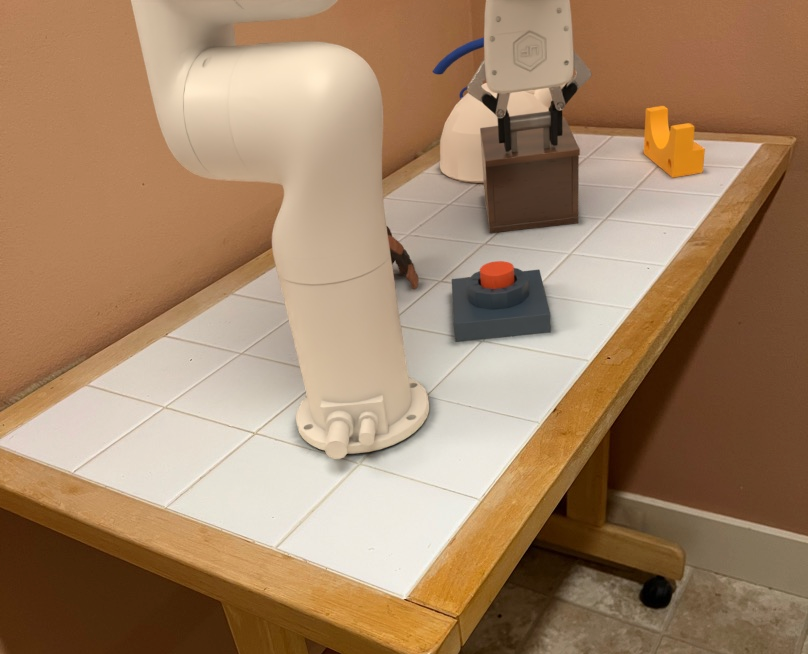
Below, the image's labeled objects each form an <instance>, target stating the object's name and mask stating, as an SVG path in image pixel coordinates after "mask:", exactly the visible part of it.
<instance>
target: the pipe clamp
mask: <svg viewBox="0 0 808 654" xmlns="http://www.w3.org/2000/svg"><path fill="white" fill-rule="evenodd" d="M644 122H645V123H644V139H643V155H645V156H646V157H647V158H648V159H649V160H650V161H652V162H653V163H654V164H655V165H656V166H657V167H659V168H660V169H661V170H663V171H664V172H665V174H667V175H668V176H670V178H672V179H673V178H680V177H684V176H690V175H696V174H703V173H704V164H705V163H704V162H705V153H706V148H705V147H703V146H702V145H700V144H699V143H698V142H697V141H694V140H695V128H696V127H695V125H693V124H692V123H690V122H686V123H680V124H675V125H670V126H669V108H667V107H666V106H664V105H659V106H653V107H646V108H645V121H644ZM669 127H670V128H669Z"/></svg>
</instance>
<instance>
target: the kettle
mask: <svg viewBox="0 0 808 654" xmlns="http://www.w3.org/2000/svg"><path fill="white" fill-rule="evenodd" d="M482 48H484V36H483V37H480V38H477V39H474V40H472V41H469V42H467V43H465V44H462V45H461V46H459V47H456V48H455V49H454V50H453V51H451V52H450V53H448V54H447V55H445V56H444V57H443V58H442V59H441V60H440V61H438V62H437V64H436V66H435V67H434V68H433V70H432V73H433V74H434V75H443V74H444V73H445V72H446V71H447V69H448V68H449V67H451V65H453V63H455V62H457V60H460V59H461V58H462V57H464V56H466V55H468V54H470V53H472V52H474V51H476V50H479V49H482ZM564 86H565V84H564V85H561V86H560V87H561V89H562V88H563V87H564ZM481 87H482V88H483V89H484V90H486V91H487V92H489V93H491V94H492V95H493V96H494V97H495V98H496V97H497V93H494V92H492V91H490V89H489V88H488V86H487V82H485V83H483V84H482V86H481ZM465 91H467V86H464V87H463V88H462V89H461V90H460V92H459V99H460V100H459V101H458V102H457V103H455V105H454V107H453V108H452V110H451V112H450V114H449V115H448V117H447V118H446V121H445V122H444V126H443V128H442V132H441V135H440V138H439V159H440V160H439V163H440V164H439V169H440V171H441V172H442V174H443V175H445V176H447V177H448V178H449V179H452V180H455V181H458V182H464V183H471V184H484V180H483V165H482V150H481V134H480V128H485V127H493V126H498V118H497V116H496V115H495V114H494V113H493V112H492V111H491V110H489V109H488V108H487V107H486V106H485V105H484V104H483V103H482V102H480V101H479V100H477V99H476V98H474V97H473V96H471V95H470V94H469V93H468V92H467V93H466V94H465V95H464V93H465ZM551 101H552V97H551V94H550V90H549V88H544V89H536V90H529V91H521V92H513V93H510V96H509V101H508V105H507V111H508V113H509V116H516V115H524V114H532V113H539V112H547V111H549V107H550V105H551Z"/></svg>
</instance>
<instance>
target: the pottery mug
mask: <svg viewBox="0 0 808 654" xmlns="http://www.w3.org/2000/svg"><path fill="white" fill-rule="evenodd" d="M386 226H387V234H388V241H389V247H390V255H391V261H392V266H393V265H394V263H395V264H396V265H397V268H398V271H399V273H400V274H401V275H403V274H405V275H406V276H405V277H406V279H407V281H409V282H410V286H411V289H413V290H416V289H417V288H418V285H419V275H418V273H417V271H416V267H415V265H414V262H413V261H412V259H411V257H410V255H409V254H408V251H407V250H406V249H405V247H404V245H403V244H402V243H400V241H399V240H397V239H396V238H395V237H394V236H393V234H392V233H393V232H392V231H391V228H390V227H389V226H388V225H386Z"/></svg>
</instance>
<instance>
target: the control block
mask: <svg viewBox="0 0 808 654" xmlns="http://www.w3.org/2000/svg"><path fill="white" fill-rule="evenodd" d="M451 292H452V293H451V297H452V320H453V323H452V324H453V332H454V342H455V343H460V342H471V341H472V342H473V341H481V340H490V339H491V340H492V339H500V338H509V337H520V336H530V335H539V334H549V333H551V332H552V324H551V311H550V310H551V309H550V306H549V303H548V298H547V294H546V290H545V287H544V282H543V278H542V274H541V270H540V269H531V270H522V269H520V268H517V267H514V284H513V285H510V286H508V287H505V288H498V289H490V288H484V287H482V286H481V280H480V270H479V271H476V272H474V273H472V275H471V276H466V277H458V278H451Z"/></svg>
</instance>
